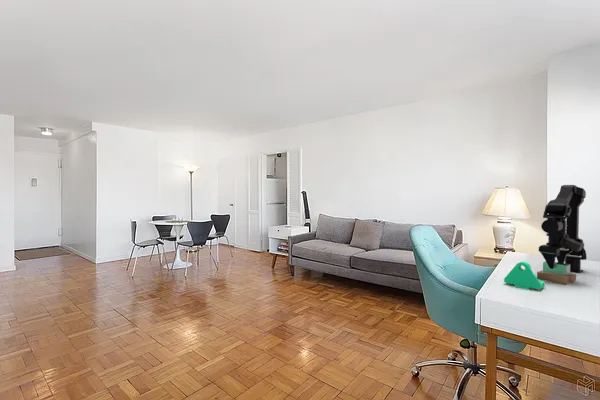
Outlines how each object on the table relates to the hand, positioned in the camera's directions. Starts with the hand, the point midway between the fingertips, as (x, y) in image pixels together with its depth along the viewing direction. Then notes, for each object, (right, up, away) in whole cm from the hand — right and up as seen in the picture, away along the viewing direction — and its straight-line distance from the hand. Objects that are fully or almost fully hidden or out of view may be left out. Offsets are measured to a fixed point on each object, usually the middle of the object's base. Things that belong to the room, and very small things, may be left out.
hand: (556, 267), depth 130 cm
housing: (0, -2, 0) cm, 2 cm away
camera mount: (-20, -6, -8) cm, 22 cm away
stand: (0, -6, 0) cm, 6 cm away
